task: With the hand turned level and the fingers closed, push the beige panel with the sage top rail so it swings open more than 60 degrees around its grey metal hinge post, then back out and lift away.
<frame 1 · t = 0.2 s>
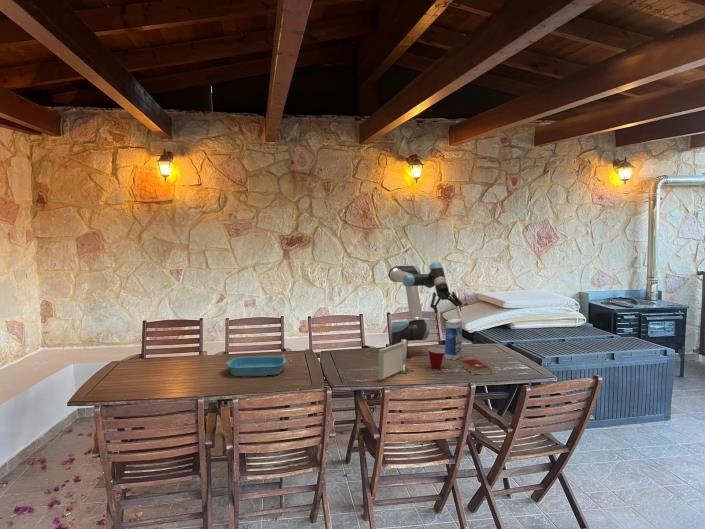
hand: (449, 317, 278), 35 cm above the table, tool tilted 35°, fingers open, 13 cm apart
casserole dish: (256, 372, 287), on the table
beige panel: (391, 360, 278), point 10 cm above the table, hinge at 0.0°
hardcover book: (474, 370, 295), on the table
string lights box: (453, 357, 322), on the table
gate post: (403, 371, 290), on the table
plastic cup: (436, 368, 297), on the table
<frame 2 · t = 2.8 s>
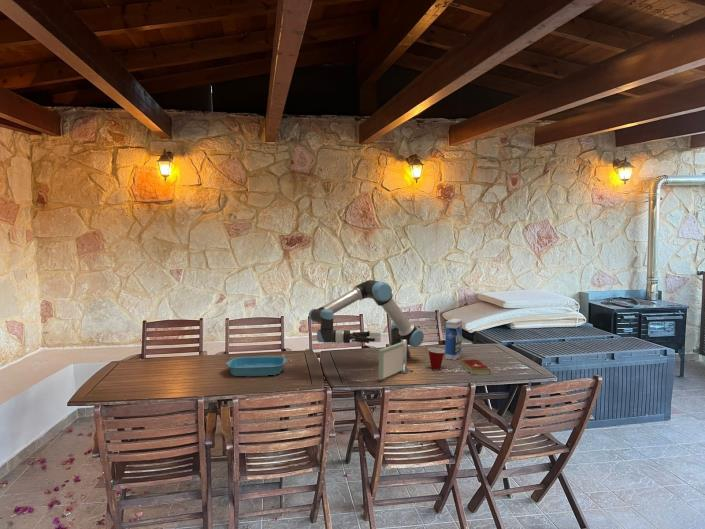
hand: (380, 337, 276), 24 cm above the table, tool horizontal, fingers open, 11 cm apart
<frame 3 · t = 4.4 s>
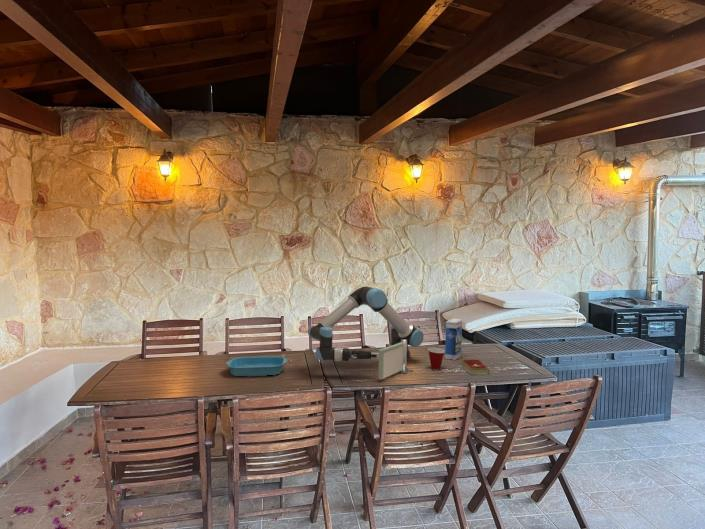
hand: (382, 355, 276), 13 cm above the table, tool horizontal, fingers closed
nothing on the table moved.
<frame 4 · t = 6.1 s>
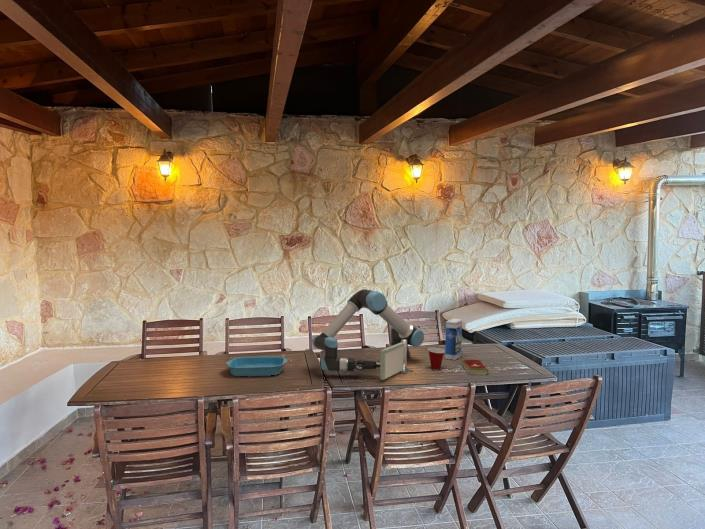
hand: (387, 365, 276), 7 cm above the table, tool horizontal, fingers closed
beige panel: (392, 360, 278), point 10 cm above the table, hinge at 2.8°, touching gripper
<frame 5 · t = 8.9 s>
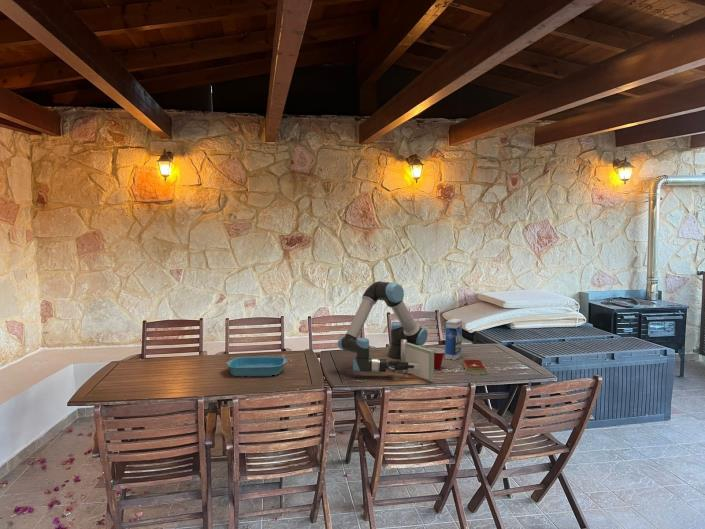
hand: (419, 366, 275), 7 cm above the table, tool horizontal, fingers closed
beige panel: (419, 360, 277), point 10 cm above the table, hinge at 71.6°, touching gripper
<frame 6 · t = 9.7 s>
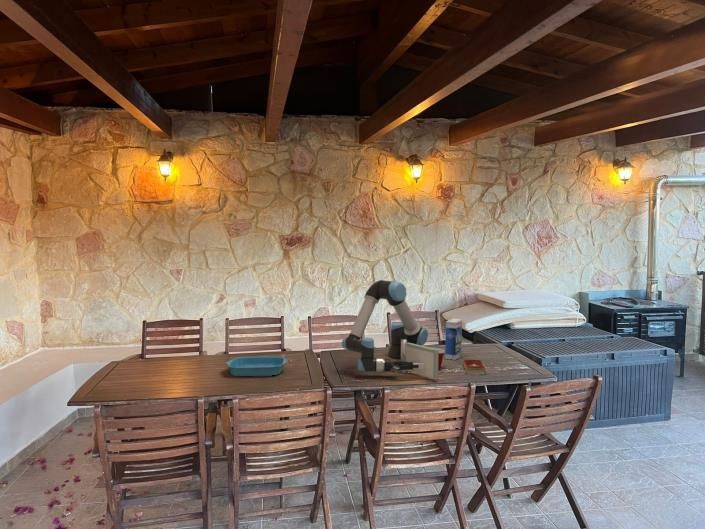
hand: (424, 366, 276), 7 cm above the table, tool horizontal, fingers closed
beige panel: (421, 360, 279), point 10 cm above the table, hinge at 80.2°, touching gripper
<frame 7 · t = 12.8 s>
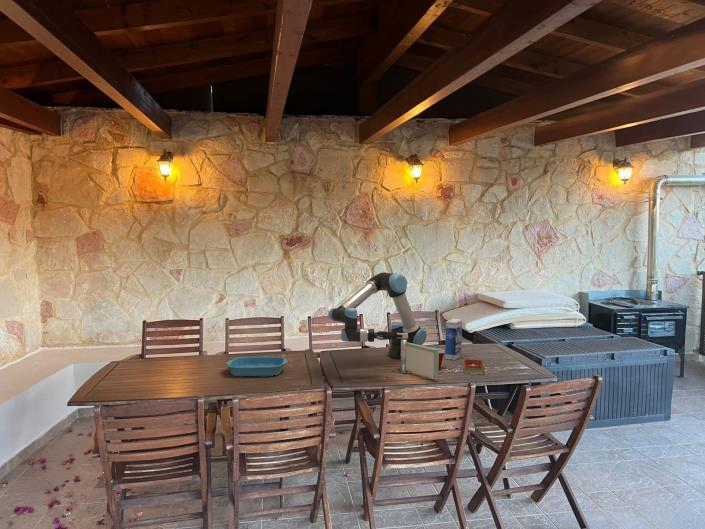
hand: (407, 335, 275), 25 cm above the table, tool horizontal, fingers closed
beige panel: (421, 360, 279), point 10 cm above the table, hinge at 80.9°
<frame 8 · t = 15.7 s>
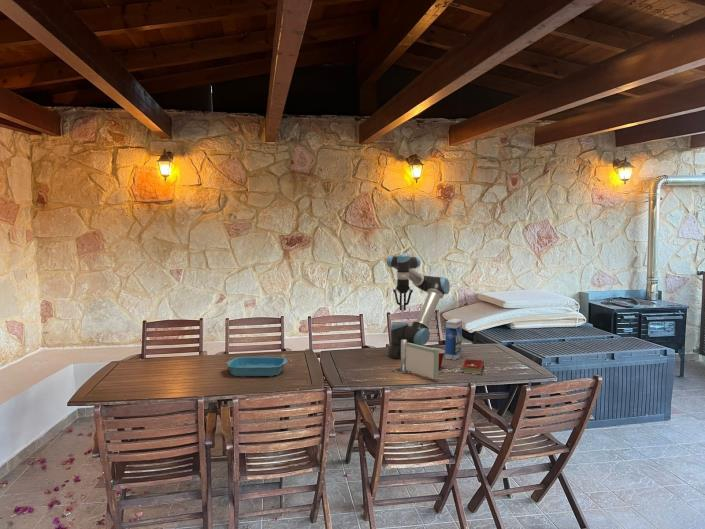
hand: (402, 315, 300), 32 cm above the table, tool pointing down, fingers closed
at the end: beige panel at +81° (first picture: +0°); plastic cup moved 0.2 cm from its start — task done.
